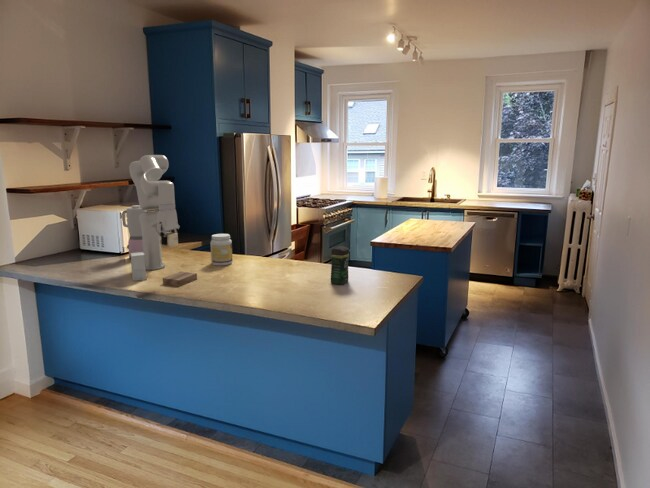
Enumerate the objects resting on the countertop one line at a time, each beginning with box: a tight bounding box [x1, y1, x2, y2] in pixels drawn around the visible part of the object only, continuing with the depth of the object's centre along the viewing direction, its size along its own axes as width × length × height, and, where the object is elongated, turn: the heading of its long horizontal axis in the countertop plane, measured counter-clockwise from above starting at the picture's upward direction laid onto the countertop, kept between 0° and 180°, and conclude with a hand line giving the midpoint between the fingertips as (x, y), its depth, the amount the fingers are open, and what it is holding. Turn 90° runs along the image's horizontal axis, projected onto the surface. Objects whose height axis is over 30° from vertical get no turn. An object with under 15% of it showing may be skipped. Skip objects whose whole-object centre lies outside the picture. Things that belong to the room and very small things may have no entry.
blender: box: [121, 204, 148, 260], centre depth 288 cm, size 16×12×32 cm
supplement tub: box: [209, 233, 233, 267], centre depth 277 cm, size 12×12×17 cm
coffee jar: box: [330, 245, 350, 285], centre depth 239 cm, size 10×8×19 cm
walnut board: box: [162, 271, 198, 287], centre depth 240 cm, size 10×14×3 cm
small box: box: [130, 252, 147, 282], centre depth 245 cm, size 8×6×13 cm
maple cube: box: [160, 231, 179, 248], centre depth 236 cm, size 6×6×6 cm
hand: (169, 243), depth 236 cm, fingers closed on maple cube, 6 cm apart
